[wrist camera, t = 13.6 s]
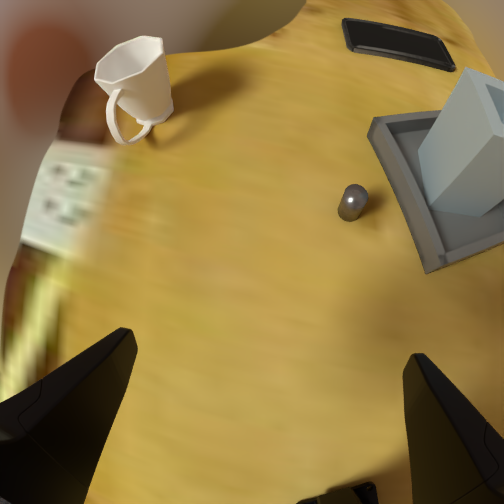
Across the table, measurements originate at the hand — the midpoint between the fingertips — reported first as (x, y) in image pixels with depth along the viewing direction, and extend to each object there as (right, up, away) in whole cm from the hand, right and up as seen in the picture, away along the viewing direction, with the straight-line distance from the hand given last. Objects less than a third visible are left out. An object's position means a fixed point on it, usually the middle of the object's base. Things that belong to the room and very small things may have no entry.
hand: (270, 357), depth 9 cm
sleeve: (+17, +9, +15) cm, 25 cm away
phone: (+19, +30, +22) cm, 42 cm away
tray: (+17, +9, +15) cm, 25 cm away
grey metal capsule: (+7, +6, +15) cm, 18 cm away
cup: (-11, +16, +20) cm, 28 cm away
